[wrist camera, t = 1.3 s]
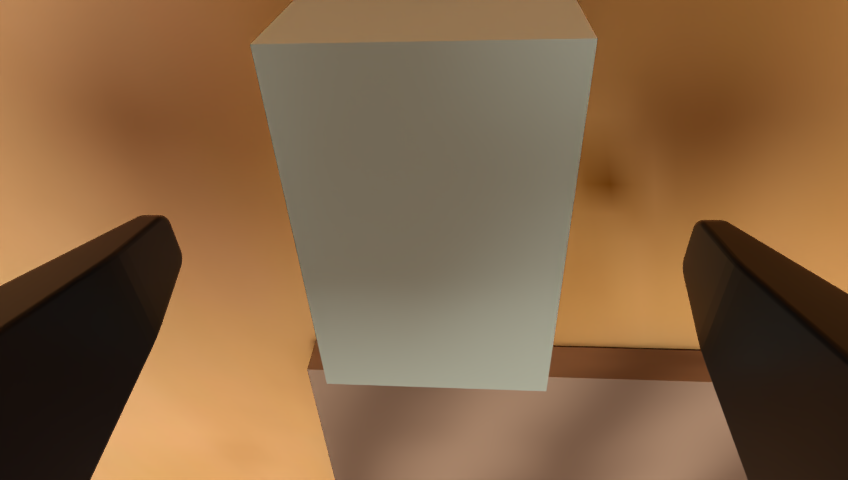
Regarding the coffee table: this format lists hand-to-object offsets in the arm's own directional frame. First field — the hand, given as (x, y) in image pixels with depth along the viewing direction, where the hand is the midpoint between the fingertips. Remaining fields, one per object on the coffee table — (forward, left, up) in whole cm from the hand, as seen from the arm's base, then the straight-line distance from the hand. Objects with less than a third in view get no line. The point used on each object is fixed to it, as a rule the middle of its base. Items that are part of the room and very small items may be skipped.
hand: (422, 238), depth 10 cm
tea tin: (0, 0, -5) cm, 5 cm away
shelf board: (-5, +13, -4) cm, 14 cm away
